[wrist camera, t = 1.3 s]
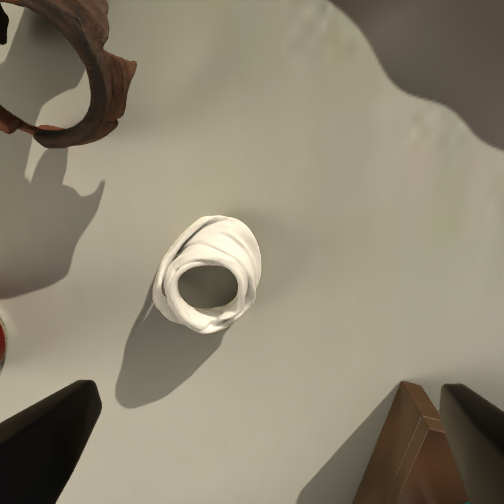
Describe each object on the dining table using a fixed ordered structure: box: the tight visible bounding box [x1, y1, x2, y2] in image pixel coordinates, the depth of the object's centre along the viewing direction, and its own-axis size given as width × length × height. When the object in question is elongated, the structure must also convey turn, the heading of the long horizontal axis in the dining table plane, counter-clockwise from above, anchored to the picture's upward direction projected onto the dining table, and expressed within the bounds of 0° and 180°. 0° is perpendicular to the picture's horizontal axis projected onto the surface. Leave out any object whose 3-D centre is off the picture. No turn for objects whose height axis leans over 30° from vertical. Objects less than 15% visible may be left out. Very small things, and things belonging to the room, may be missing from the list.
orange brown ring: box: [0, 0, 137, 149], centre depth 18 cm, size 12×9×8 cm
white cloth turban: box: [153, 216, 261, 334], centre depth 20 cm, size 8×7×5 cm
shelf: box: [353, 381, 469, 504], centre depth 22 cm, size 13×11×4 cm
